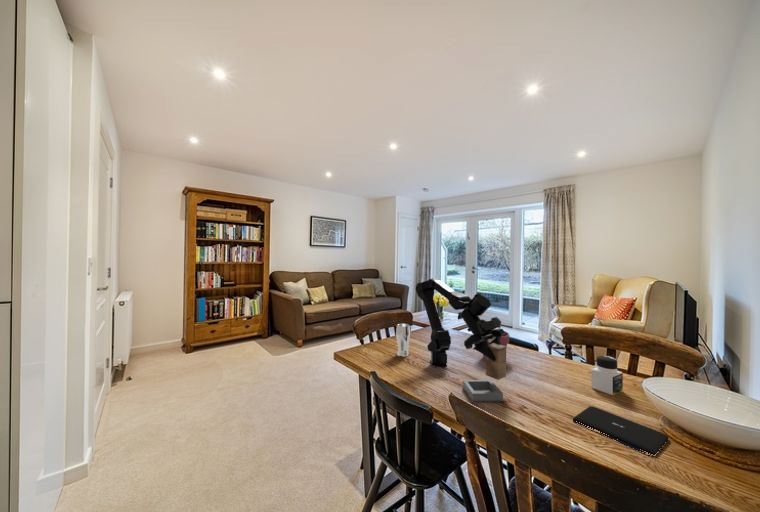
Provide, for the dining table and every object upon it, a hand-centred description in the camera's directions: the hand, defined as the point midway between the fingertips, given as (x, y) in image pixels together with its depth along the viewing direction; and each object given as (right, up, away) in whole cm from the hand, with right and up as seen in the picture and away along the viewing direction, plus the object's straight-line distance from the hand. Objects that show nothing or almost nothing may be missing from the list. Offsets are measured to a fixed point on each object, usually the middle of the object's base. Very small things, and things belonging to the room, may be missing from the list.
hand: (499, 358), depth 102 cm
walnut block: (-1, -7, +1) cm, 7 cm away
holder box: (-7, -12, -1) cm, 14 cm away
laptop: (+25, -13, -22) cm, 35 cm away
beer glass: (-32, -12, +39) cm, 52 cm away
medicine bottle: (+41, -13, +3) cm, 43 cm away
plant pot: (+12, -13, +34) cm, 38 cm away
